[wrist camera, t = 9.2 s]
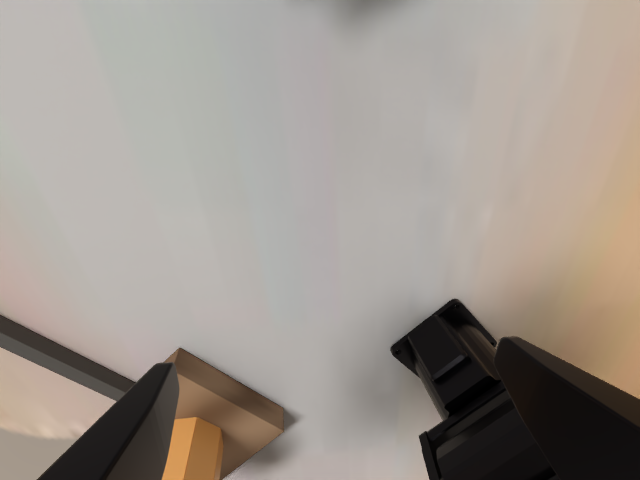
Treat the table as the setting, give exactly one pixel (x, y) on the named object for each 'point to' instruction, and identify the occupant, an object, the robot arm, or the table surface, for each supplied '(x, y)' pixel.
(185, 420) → the orange domed octagonal post
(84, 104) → the table surface
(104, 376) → the bar
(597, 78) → the table surface
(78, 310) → the table surface
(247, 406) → the peg block
